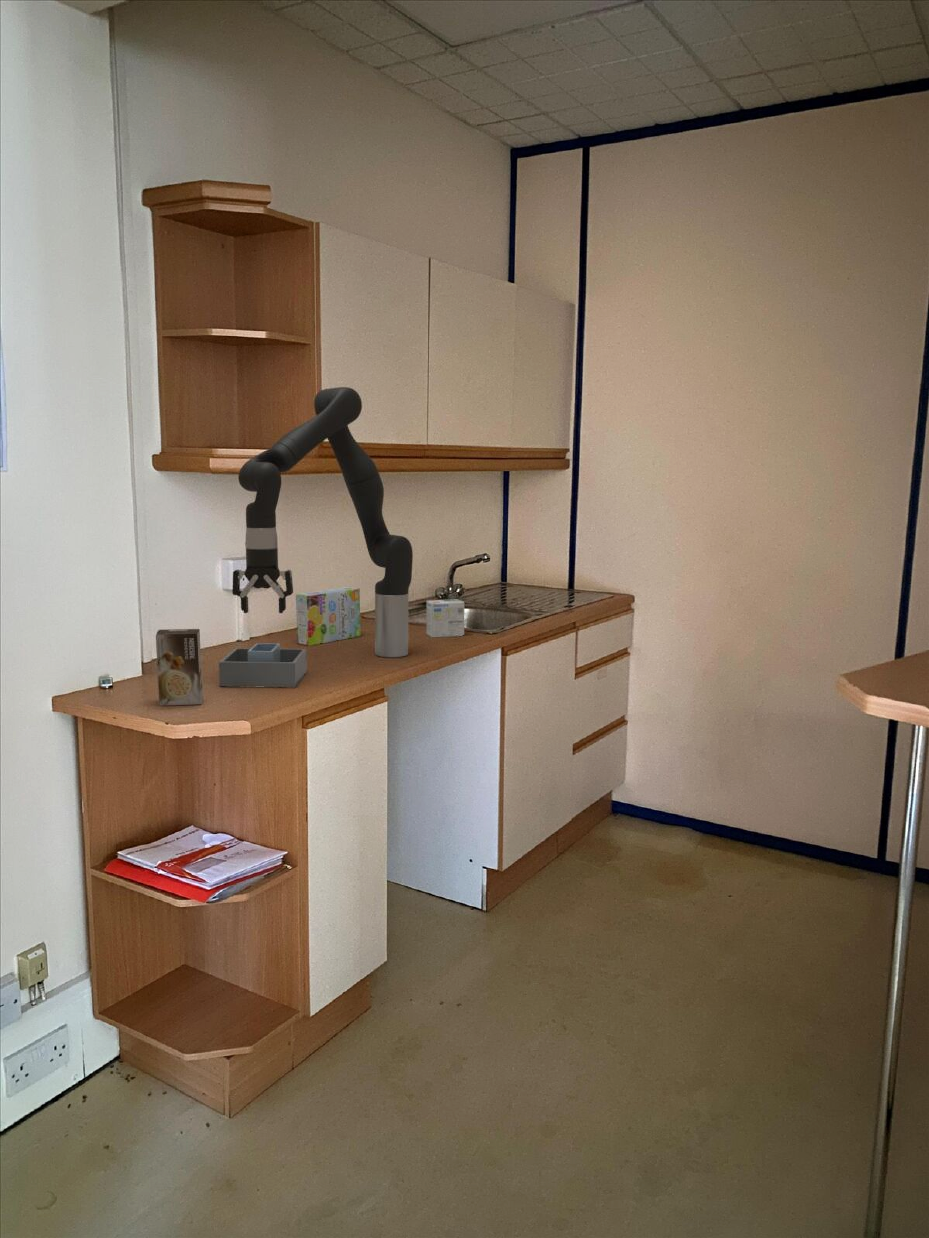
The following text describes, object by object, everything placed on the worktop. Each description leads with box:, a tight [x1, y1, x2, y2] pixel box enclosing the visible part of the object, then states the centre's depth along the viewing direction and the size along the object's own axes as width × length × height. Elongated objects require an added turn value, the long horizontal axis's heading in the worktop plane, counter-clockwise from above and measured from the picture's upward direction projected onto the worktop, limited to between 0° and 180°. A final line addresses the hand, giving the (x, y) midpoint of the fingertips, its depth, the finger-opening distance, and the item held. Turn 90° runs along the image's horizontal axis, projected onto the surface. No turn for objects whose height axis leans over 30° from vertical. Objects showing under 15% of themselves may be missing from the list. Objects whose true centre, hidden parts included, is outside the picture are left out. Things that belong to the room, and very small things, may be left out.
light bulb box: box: [425, 598, 465, 639], centre depth 301 cm, size 11×7×11 cm, turn 111°
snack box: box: [295, 586, 362, 647], centre depth 290 cm, size 21×6×15 cm, turn 141°
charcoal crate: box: [218, 647, 308, 689], centre depth 239 cm, size 17×18×6 cm
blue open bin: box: [247, 642, 281, 662], centre depth 239 cm, size 10×6×7 cm, turn 0°
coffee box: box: [155, 628, 204, 707], centre depth 216 cm, size 9×6×16 cm
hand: (263, 612), depth 237 cm, fingers open, 8 cm apart
